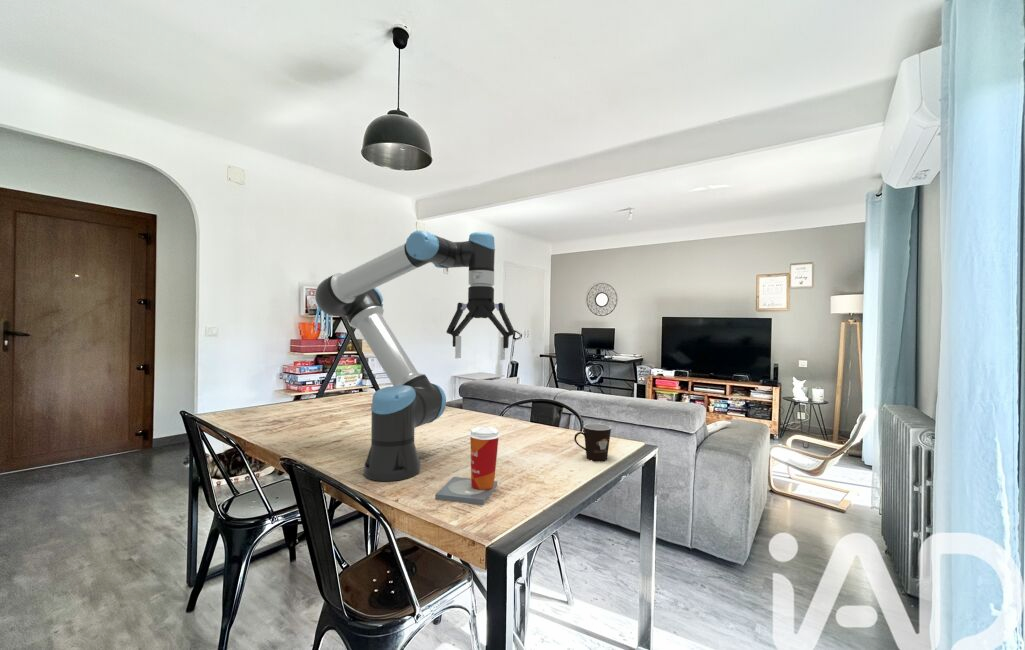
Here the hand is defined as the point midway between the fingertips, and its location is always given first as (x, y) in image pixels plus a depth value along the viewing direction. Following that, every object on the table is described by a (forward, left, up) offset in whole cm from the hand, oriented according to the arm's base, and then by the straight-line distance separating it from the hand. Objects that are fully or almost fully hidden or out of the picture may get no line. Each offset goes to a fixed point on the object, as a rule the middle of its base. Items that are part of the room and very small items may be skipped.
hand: (480, 359), depth 122 cm
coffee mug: (+32, +18, -32) cm, 49 cm away
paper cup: (+6, -16, -31) cm, 35 cm away
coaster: (+3, -18, -32) cm, 37 cm away
